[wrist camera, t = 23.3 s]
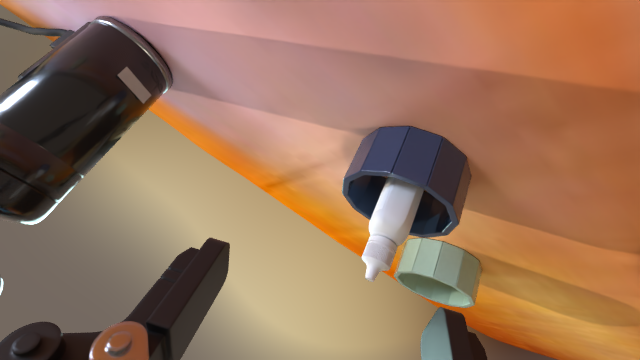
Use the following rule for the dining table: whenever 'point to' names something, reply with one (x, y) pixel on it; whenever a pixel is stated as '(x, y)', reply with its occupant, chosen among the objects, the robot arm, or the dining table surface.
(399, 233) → the eye dropper bottle
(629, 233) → the dining table surface
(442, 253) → the celadon cup
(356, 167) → the slate cup
